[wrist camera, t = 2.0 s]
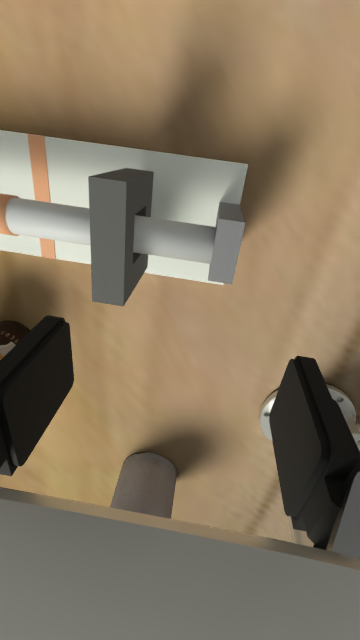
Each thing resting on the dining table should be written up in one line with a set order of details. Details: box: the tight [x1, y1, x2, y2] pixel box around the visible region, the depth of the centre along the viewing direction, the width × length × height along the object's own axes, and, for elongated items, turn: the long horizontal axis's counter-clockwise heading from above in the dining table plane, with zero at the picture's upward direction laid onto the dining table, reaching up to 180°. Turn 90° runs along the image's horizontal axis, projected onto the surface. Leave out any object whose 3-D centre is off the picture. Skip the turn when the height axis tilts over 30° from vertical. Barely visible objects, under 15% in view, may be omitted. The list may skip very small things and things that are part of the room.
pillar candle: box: [110, 453, 177, 519], centre depth 47 cm, size 10×10×15 cm
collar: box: [88, 168, 154, 306], centre depth 26 cm, size 2×9×9 cm, turn 173°
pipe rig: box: [0, 130, 248, 285], centre depth 28 cm, size 30×12×9 cm, turn 83°
